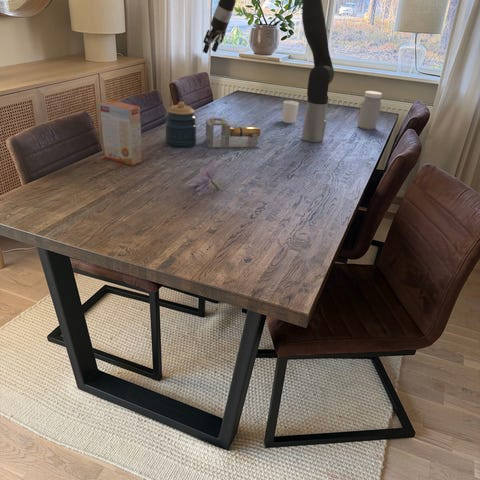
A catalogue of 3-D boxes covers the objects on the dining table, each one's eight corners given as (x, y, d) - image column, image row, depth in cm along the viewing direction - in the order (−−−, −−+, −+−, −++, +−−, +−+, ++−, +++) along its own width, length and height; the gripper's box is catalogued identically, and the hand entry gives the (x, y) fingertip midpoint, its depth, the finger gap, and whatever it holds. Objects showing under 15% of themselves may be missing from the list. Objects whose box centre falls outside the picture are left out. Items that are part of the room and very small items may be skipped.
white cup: (296, 124, 228) (299, 104, 223) (281, 123, 228) (284, 103, 223) (295, 120, 235) (298, 101, 230) (280, 119, 235) (283, 99, 230)
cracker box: (143, 162, 166) (140, 106, 156) (132, 166, 162) (128, 109, 151) (115, 153, 172) (111, 99, 161) (104, 157, 167) (99, 101, 157)
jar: (373, 125, 237) (381, 91, 228) (377, 131, 228) (385, 95, 219) (355, 124, 237) (362, 89, 228) (358, 129, 229) (365, 93, 220)
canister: (190, 150, 182) (191, 107, 173) (161, 146, 184) (160, 103, 175) (199, 141, 193) (200, 100, 184) (171, 137, 195) (171, 96, 186)
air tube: (257, 135, 195) (258, 125, 193) (259, 138, 192) (260, 128, 190) (228, 135, 192) (229, 125, 190) (230, 138, 189) (231, 128, 187)
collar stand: (252, 140, 200) (254, 117, 195) (258, 148, 191) (261, 124, 186) (204, 140, 194) (205, 117, 189) (208, 148, 185) (209, 124, 180)
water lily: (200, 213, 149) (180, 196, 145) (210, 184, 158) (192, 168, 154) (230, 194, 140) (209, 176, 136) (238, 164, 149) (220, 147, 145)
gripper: (220, 22, 195) (208, 57, 205) (235, 21, 207) (222, 54, 216) (207, 14, 196) (195, 49, 206) (222, 13, 208) (210, 46, 217)
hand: (209, 51), depth 211 cm, fingers open, 8 cm apart
